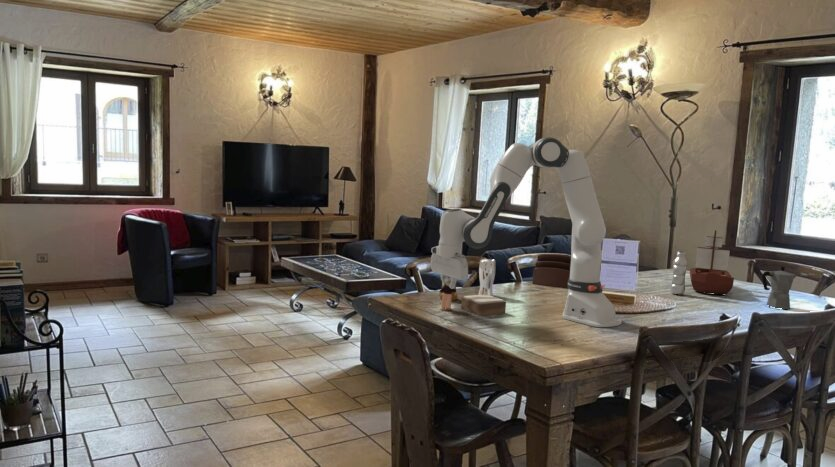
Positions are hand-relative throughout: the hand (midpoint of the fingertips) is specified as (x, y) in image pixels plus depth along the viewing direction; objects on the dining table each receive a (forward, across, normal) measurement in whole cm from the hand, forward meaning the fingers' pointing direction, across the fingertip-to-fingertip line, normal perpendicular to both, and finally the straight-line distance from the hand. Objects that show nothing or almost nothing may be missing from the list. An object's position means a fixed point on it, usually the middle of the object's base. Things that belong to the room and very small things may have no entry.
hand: (448, 287), depth 244 cm
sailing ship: (+9, -11, -147) cm, 148 cm away
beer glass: (+9, +16, -31) cm, 36 cm away
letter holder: (+9, +23, -78) cm, 82 cm away
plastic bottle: (+9, -14, -119) cm, 120 cm away
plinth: (+9, -7, -12) cm, 16 cm away
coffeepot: (+9, -48, -140) cm, 148 cm away
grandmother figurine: (+9, 0, 0) cm, 9 cm away
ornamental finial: (+9, +15, -11) cm, 21 cm away
